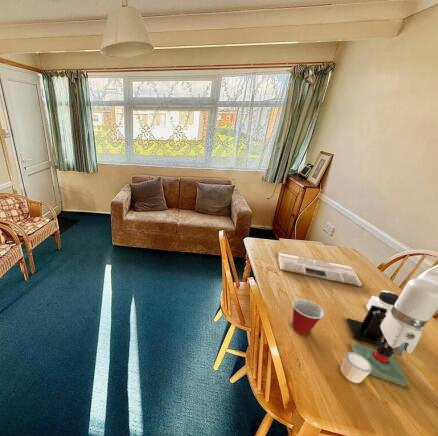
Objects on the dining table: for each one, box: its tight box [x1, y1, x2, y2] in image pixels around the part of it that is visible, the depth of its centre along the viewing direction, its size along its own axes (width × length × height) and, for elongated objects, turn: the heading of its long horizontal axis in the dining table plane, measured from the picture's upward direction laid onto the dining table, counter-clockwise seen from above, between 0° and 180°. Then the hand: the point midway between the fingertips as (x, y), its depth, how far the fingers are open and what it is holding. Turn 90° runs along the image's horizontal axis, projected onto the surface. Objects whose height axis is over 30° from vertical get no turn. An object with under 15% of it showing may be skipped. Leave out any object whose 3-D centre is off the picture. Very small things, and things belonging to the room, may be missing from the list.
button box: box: [350, 342, 409, 387], centre depth 81 cm, size 12×10×4 cm
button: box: [373, 351, 389, 364], centre depth 80 cm, size 4×4×2 cm
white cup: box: [340, 351, 372, 384], centre depth 77 cm, size 7×7×7 cm
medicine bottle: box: [365, 290, 400, 315], centre depth 100 cm, size 7×7×12 cm
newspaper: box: [277, 252, 362, 287], centre depth 132 cm, size 37×19×3 cm, turn 68°
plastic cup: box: [291, 298, 325, 335], centre depth 93 cm, size 11×11×12 cm
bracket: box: [346, 305, 387, 347], centre depth 91 cm, size 12×10×13 cm
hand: (382, 353), depth 79 cm, fingers closed
